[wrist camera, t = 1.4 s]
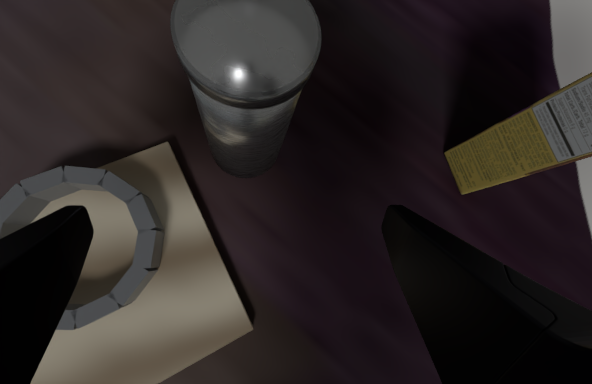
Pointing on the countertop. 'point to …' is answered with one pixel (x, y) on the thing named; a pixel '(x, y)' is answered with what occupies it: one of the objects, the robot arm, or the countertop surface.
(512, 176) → the candy box
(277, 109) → the metal canister
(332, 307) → the countertop surface
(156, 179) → the duct board
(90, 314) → the collar
